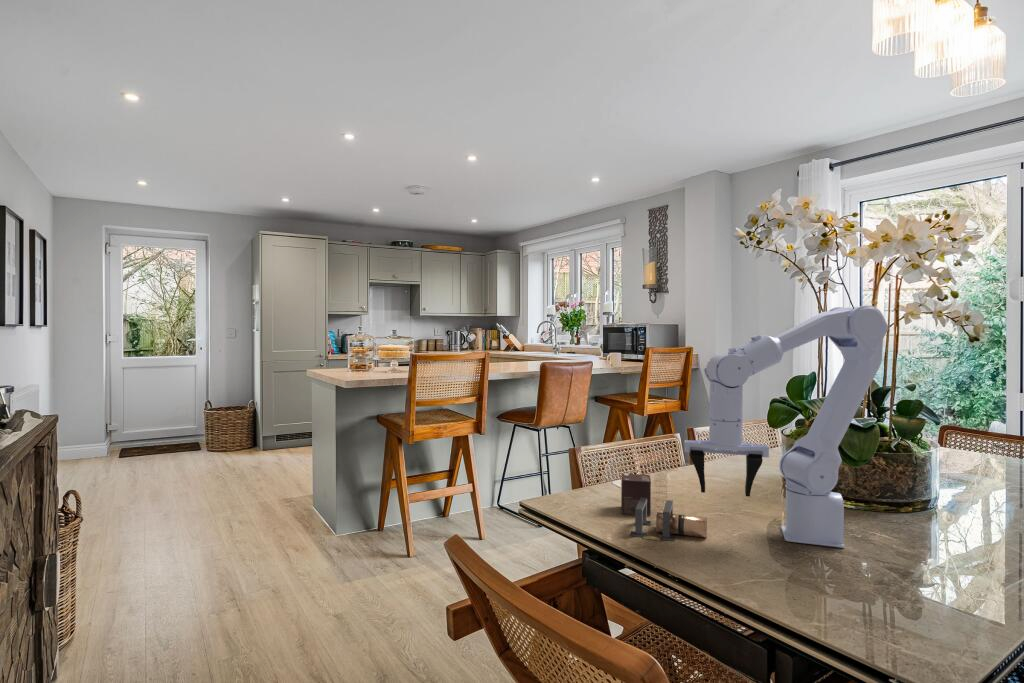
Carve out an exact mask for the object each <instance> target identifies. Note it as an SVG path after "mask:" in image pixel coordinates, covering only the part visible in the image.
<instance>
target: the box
mask: <svg viewBox="0 0 1024 683" xmlns="http://www.w3.org/2000/svg"><path fill="white" fill-rule="evenodd" d="M651 480H652V479H651V475H650V474H641V473H640V474H639V473H638V474H635V473H621V490H620V491H621V497H620V498H621V500H620V501H621V506H620V507H621V509H620V510H621V514H622V515H628V516H635V509H636V507H637V504H638V502H639V500H640V498H647V517H650V516H651V512H652V510H651V509H652V508H651V506H652V505H651V503H652V502H651V499H652V497H651V496H652V487H651V486H652V482H651Z"/></svg>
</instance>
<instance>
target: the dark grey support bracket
mask: <svg viewBox="0 0 1024 683" xmlns="http://www.w3.org/2000/svg"><path fill="white" fill-rule="evenodd" d="M662 513H663V532H662V534H659V533H658V534H657V536H656V537H657V538H660V541H661V540H662V541H670V542H675V540H676V536H674V535H671V533H670V514H674V500H670V499H669V500H668V499H666V500H665V504H664V507H663V510H662Z"/></svg>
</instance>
